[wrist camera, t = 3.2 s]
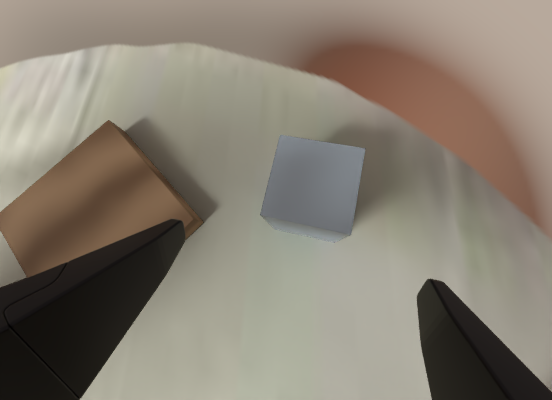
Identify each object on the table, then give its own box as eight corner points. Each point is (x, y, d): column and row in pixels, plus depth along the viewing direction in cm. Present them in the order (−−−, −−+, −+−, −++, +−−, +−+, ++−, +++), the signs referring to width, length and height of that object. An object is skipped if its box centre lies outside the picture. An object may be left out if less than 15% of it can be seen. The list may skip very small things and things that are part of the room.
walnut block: (203, 222, 21) (193, 218, 19) (86, 332, 20) (63, 340, 18) (124, 131, 24) (108, 120, 22) (19, 221, 23) (-7, 218, 21)
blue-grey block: (334, 242, 19) (351, 234, 13) (274, 229, 20) (260, 215, 13) (344, 184, 20) (365, 148, 14) (287, 173, 21) (279, 134, 14)
